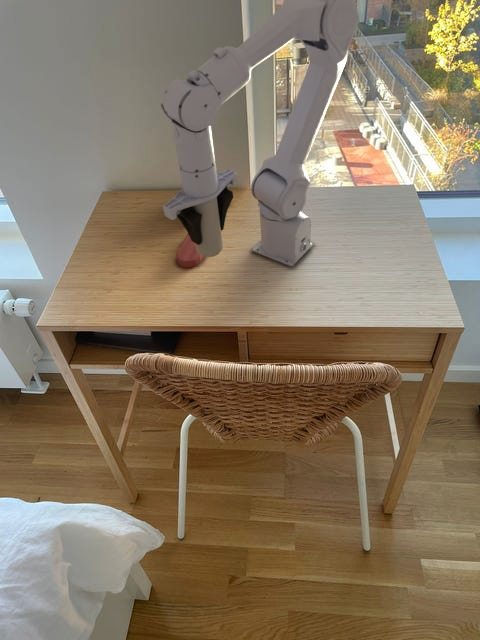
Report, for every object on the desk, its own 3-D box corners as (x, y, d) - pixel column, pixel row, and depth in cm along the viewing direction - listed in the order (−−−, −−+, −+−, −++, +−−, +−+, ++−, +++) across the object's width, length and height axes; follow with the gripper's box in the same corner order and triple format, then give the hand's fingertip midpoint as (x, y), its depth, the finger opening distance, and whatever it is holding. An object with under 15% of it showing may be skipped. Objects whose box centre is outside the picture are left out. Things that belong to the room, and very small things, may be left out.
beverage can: (227, 253, 87) (220, 195, 79) (201, 261, 86) (191, 203, 78) (217, 239, 90) (210, 181, 82) (193, 247, 89) (182, 189, 81)
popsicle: (220, 219, 104) (196, 263, 95) (221, 226, 106) (197, 269, 96) (197, 217, 106) (171, 260, 96) (198, 223, 107) (172, 266, 97)
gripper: (213, 139, 82) (222, 209, 91) (144, 174, 75) (161, 245, 85) (243, 151, 78) (248, 222, 88) (173, 189, 71) (187, 261, 81)
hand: (207, 234), depth 86 cm, fingers closed on beverage can, 5 cm apart
